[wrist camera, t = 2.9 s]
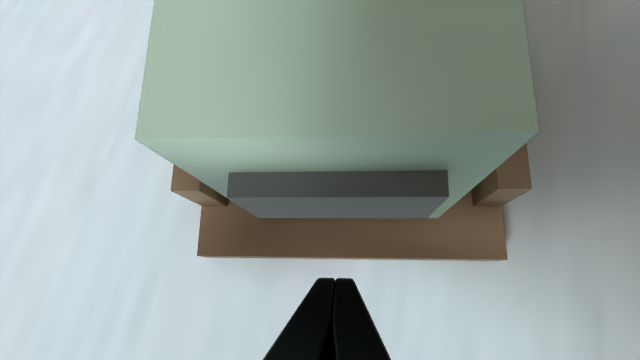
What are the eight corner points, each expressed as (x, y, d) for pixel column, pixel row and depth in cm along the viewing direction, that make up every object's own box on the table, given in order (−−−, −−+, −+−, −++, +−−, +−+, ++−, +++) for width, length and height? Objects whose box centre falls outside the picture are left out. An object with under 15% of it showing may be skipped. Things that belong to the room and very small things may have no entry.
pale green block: (438, 233, 15) (543, 166, 6) (257, 232, 16) (130, 171, 7) (433, 143, 16) (519, -23, 7) (262, 146, 17) (154, -2, 8)
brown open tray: (498, 260, 16) (558, 251, 11) (206, 257, 17) (145, 247, 12) (475, 8, 19) (514, -87, 14) (226, 21, 20) (184, -63, 15)
